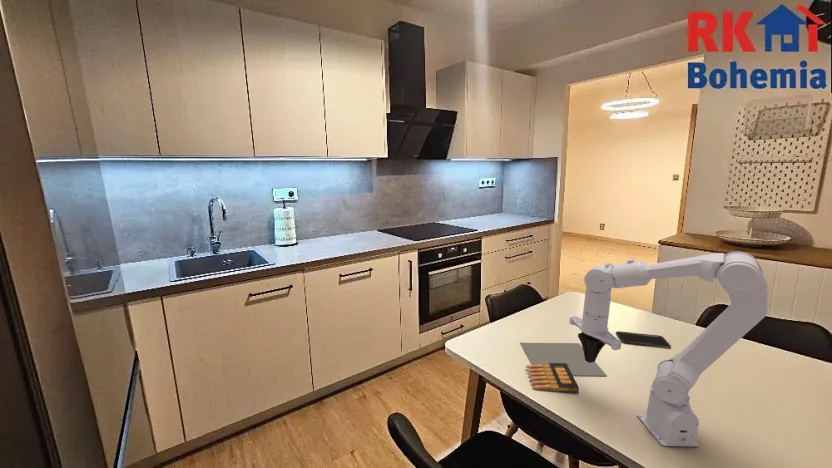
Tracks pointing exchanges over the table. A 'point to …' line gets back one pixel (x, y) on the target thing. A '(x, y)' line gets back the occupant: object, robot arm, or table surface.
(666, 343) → the phone
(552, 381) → the ammunition clip
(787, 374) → the table surface
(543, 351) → the mat
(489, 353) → the table surface
